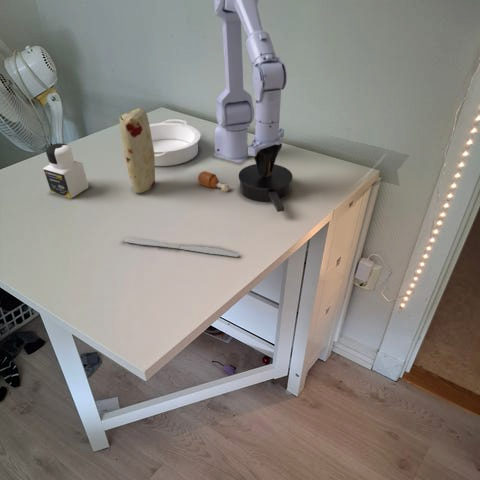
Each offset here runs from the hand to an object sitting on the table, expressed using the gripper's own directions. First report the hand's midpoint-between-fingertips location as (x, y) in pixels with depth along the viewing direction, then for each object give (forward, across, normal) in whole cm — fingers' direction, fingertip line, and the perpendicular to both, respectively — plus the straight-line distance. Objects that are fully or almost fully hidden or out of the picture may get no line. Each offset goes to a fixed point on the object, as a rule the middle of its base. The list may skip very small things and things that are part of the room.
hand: (265, 173), depth 114 cm
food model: (+5, -16, +28) cm, 33 cm away
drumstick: (+5, -6, +12) cm, 15 cm away
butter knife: (+5, -33, +2) cm, 34 cm away
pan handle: (+3, -8, -8) cm, 11 cm away
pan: (+5, 0, 0) cm, 5 cm away
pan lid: (+1, 0, 0) cm, 1 cm away
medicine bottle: (+5, -28, +44) cm, 53 cm away
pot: (+5, +5, +38) cm, 39 cm away
